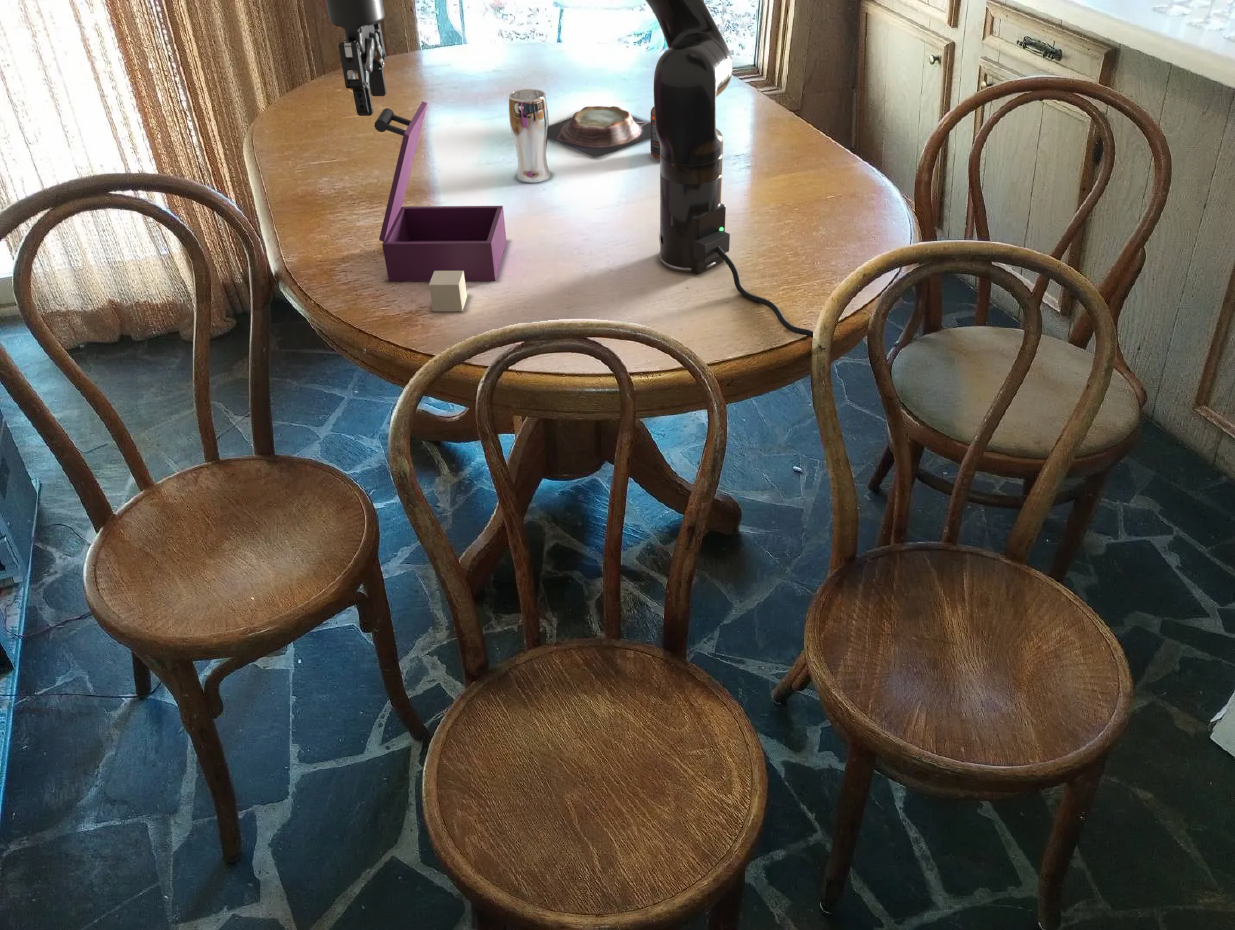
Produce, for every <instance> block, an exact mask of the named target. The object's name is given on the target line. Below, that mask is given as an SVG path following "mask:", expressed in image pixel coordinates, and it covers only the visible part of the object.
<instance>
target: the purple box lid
mask: <svg viewBox="0 0 1235 930" xmlns="http://www.w3.org/2000/svg"><path fill="white" fill-rule="evenodd" d="M427 106H428V102H426V101H423V100H422V101H421V103H420V105H419V106H418V108H417V109H416V112H415V114H414V115H413V117H412V118H411V120H410V119H407V118H404V117H402V116H400V115H397V114H395V113H394V111H393V109H391V108H388V107H386V108H384V109H382V111H381V112H380V114H379V116H378V117H377V119H376V120H375V122H374V126H373V127H374V129H375V130H376V131H377V132H378V133H384V132H386V131H388V132H391V133H394V134H396V135H400V136H401V137H402V140H401V143H400V147H399V153H398V157H397V161H396V165H395V170H394V174H393V177H392V178H393V179H392V183H391V187H390V191H389V196H388V198H387V199H388V201H387V203H386V207H385V213H384V216H383V221H382V226H381V229H380V234H379V237H378V238H379V239H378V241H379V242H382V243H383V242H384V241H385V239H386V237H387V235H388V233H389V231H390V229H391V227H392V225H393V223H394V221H395V219H396V217H397V215H398V213H399V211H400V209H401V207H403V205H404V201H405V196H406V192H407V188H408V184H409V180H410V176H411V172H412V168H413V164H414V160H415V157H416V151H417V147H418V143H419V139H420V136H421V131H422V127H423V123H424V119H425V115H426V110H427ZM392 121H393V122H395V123H399V124H401V125H404V126H407V128H406V129H403V128H400V127H398V126H395V125H392V124H391V123H392Z"/></svg>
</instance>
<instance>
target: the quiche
mask: <svg viewBox="0 0 1235 930" xmlns="http://www.w3.org/2000/svg"><path fill="white" fill-rule="evenodd" d="M650 123H651V121H650V122H648V121H645V120H642V119H639V118H637V117H634V116H632V114H631V113H630V112H629V111H627V110H625V109H622V108H621V107H620V106H615V105H612V106H603V105H595V106H590V105H589V106H584V107H583V108H582V109H580V110H578V111H576V112H574V114H573V115H572V116H571V117H569V118H566V119H564V120H561V121H559V122H557V123H554V124H551V125H549V129H548V140H551V141H554V142H556V143H559V144H561V145H563V146H567V147H569V148H571V149H573V150H576V151H577V152H580V153H582V154H585V155H587V156H590V157H593V158H599V157H603V156H606V155H609V154H613V153H615V152H617V151H618V152H619V151H620V150H623V149H626V148H629V147H632V146H634V145H637V144H639V143H642V142H645V141H647V140H651V139H650V137H651V136H650V135H651V134H650V133H651V132H650V131H651V130H650V129H651V127H650V125H651V124H650Z"/></svg>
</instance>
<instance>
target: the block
mask: <svg viewBox="0 0 1235 930" xmlns="http://www.w3.org/2000/svg"><path fill="white" fill-rule="evenodd" d="M428 290H429V295H430V302H431V308H432V312H463V310H464V308H465V304H466V301H467V299H468V294H467V286H466V281H465V278H464V271H434V273H433V275H432V278H431V280H430V281H429V283H428Z"/></svg>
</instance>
